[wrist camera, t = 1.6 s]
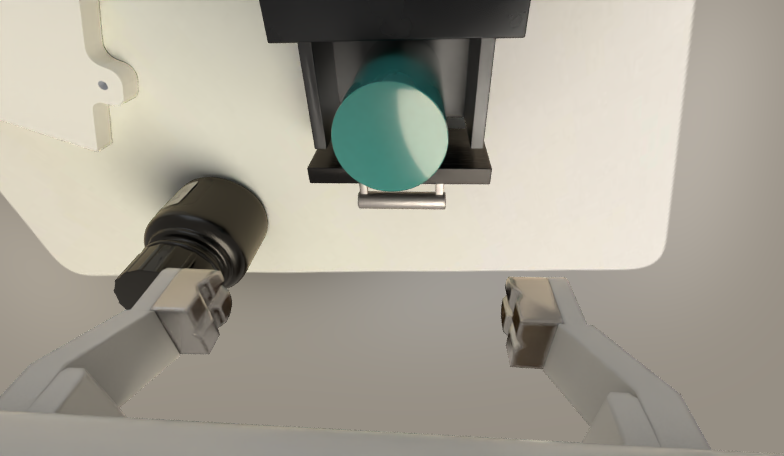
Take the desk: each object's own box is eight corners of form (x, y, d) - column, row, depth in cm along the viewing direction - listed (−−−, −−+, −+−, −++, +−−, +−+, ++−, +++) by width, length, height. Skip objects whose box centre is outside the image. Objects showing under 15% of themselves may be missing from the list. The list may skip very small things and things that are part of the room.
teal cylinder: (443, 31, 26) (452, 80, 17) (439, 116, 29) (445, 192, 21) (357, 33, 26) (323, 82, 18) (364, 116, 30) (338, 191, 21)
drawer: (474, 186, 34) (483, 233, 29) (335, 185, 35) (318, 231, 30) (503, -87, 23) (527, -95, 17) (298, -78, 24) (260, -82, 18)
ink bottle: (174, 161, 36) (82, 243, 26) (269, 180, 36) (213, 268, 27) (187, 241, 42) (115, 331, 32) (269, 256, 42) (223, 350, 33)
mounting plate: (-80, 79, 33) (-105, 86, 31) (-154, -113, 25) (-192, -116, 24) (141, 152, 35) (128, 162, 34) (133, -1, 28) (117, 2, 26)
